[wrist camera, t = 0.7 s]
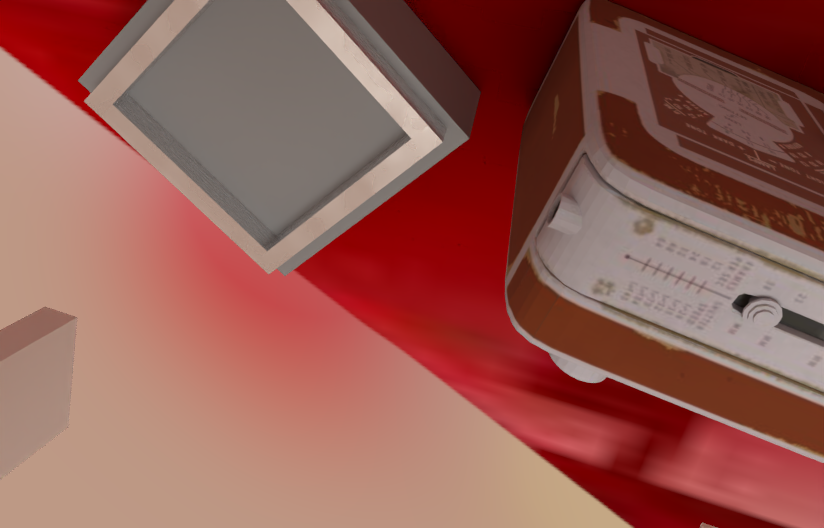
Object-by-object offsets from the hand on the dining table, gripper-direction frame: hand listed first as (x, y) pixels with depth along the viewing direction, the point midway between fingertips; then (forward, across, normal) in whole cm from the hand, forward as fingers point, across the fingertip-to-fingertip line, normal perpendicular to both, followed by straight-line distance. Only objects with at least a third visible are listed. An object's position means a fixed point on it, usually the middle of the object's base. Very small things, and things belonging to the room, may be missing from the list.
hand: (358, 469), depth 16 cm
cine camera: (+29, +10, +6) cm, 32 cm away
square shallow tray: (+27, -12, +4) cm, 30 cm away
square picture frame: (+22, -12, +2) cm, 25 cm away
